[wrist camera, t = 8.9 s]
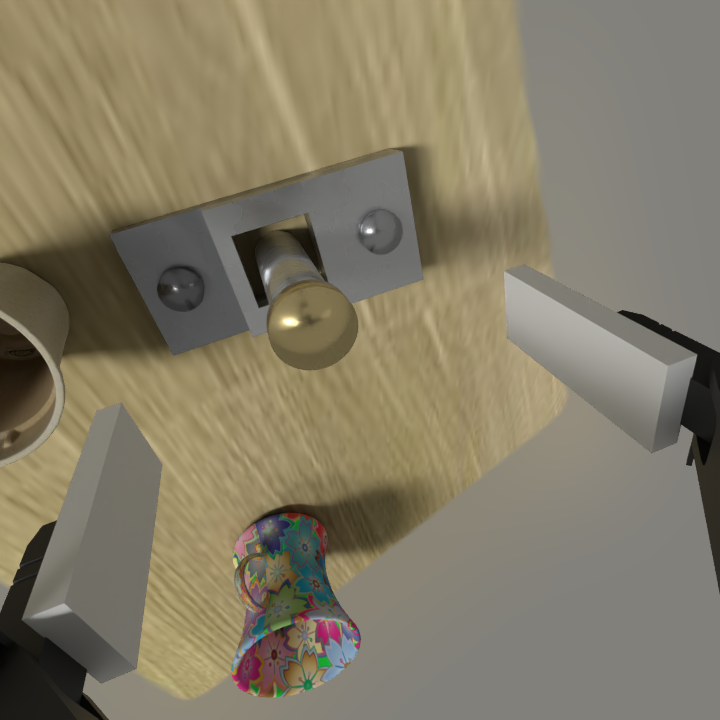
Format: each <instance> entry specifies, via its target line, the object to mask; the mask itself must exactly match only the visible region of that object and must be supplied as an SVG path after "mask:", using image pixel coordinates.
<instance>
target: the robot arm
mask: <svg viewBox="0 0 720 720" xmlns="http://www.w3.org/2000/svg"><path fill="white" fill-rule="evenodd" d="M504 281H505V302H506V323H507V338H508V339H509V340H510V341H511V342H513V343H514V344H515V345H516V346H518V347H519V348H520V349H521V350H523V351H524V352H525V353H526V354H528V355H529V356H530V357H531V358H533V359H534V360H535V361H536V362H538V363H539V364H540V365H541V366H543V367H544V368H545V369H546V370H548V371H549V372H550V373H551V374H553V375H554V376H555V377H556V378H558V379H559V380H560V381H561V382H563V383H564V384H565V385H566V386H568V387H569V388H570V389H571V390H573V391H574V392H575V393H576V394H578V395H579V396H580V397H581V398H583V399H584V400H585V401H586V402H588V403H589V404H590V405H592V406H593V407H594V408H595V409H597V410H598V411H599V412H600V413H601V414H603V415H604V416H605V417H607V418H608V419H609V420H610V421H612V422H613V423H614V424H615V425H617V426H618V427H619V428H620V429H622V430H623V431H624V432H625V433H627V434H628V435H629V436H630V437H632V438H633V439H634V440H636V441H637V442H638V443H639V444H641V445H642V446H643V447H644V448H645V449H647V450H648V451H649V452H650V453H653V452H656V451H658V450H661V449H663V448H665V447H668V446H670V445H673V444H675V443H677V440H678V436H679V432H680V427H681V425H683V426H684V427H686V428H687V429H689V430H690V431H692V432H693V433H694V434H693V438H692V442H691V446H690V450H689V454H688V458H687V463H686V465H689V466H692V462H693V459H695V465H696V470H697V475H698V481H699V486H700V491H701V497H702V502H703V507H704V512H705V518H706V523H707V528H708V533H709V539H710V544H711V550H712V555H713V560H714V566H715V571H716V575H717V581H718V587H719V592H720V353H719V352H717V351H715V350H713V349H711V348H709V347H707V346H705V345H703V344H701V343H699V342H697V341H695V340H693V339H690V338H688V337H687V336H684V335H683V334H680V333H678V332H676V331H672V329H670V328H668V327H666V326H664V325H662V324H661V325H659V323H658V322H656V321H654V320H652V319H650V318H648V317H646V316H644V315H642V314H637V313H633V312H628V311H624V310H622V311H619V312H614V311H613V310H611V309H609V308H607V307H605V306H603V305H601V304H599V303H598V302H596V301H594V300H592V299H590V298H588V297H586V296H584V295H582V294H580V293H578V292H576V291H574V290H573V289H571V288H569V287H567V286H565V285H563V284H561V283H559V282H557V281H555V280H553V279H552V278H550V277H548V276H546V275H544V274H542V273H540V272H538V271H536V270H534V269H532V268H530V267H529V266H527V265H525V264H523V265H520V266H517V267H514V268H511V269H508V270H505V271H504ZM161 470H162V463H161V461H160V460H159V458H158V457H157V455H156V454H155V452H154V451H153V449H152V448H151V446H150V445H149V443H148V442H147V440H146V439H145V437H144V436H143V434H142V433H141V431H140V430H139V428H138V427H137V425H136V424H135V422H134V421H133V419H132V418H131V416H130V415H129V413H128V412H127V410H126V409H125V407H124V406H123V404H122V403H119V404H116V405H113V406H110V407H107V408H104V409H101V410H98V411H96V413H95V416H94V419H93V422H92V425H91V427H90V430H89V433H88V436H87V439H86V441H85V444H84V447H83V450H82V453H81V455H80V458H79V461H78V464H77V467H76V469H75V472H74V475H73V478H72V480H71V483H70V486H69V489H68V492H67V494H66V497H65V500H64V503H63V506H62V508H61V511H60V514H59V517H58V520H57V521H54V522H51V523H49V524H46V525H43V526H42V527H41V529H40V530H39V531H38V532H37V534H36V535H35V536H34V538H33V539H32V540H31V542H30V543H29V544H28V546H27V548H26V550H25V553H24V555H23V558H22V560H21V563H20V565H19V566H20V569H18V570H17V573H16V575H15V577H14V580H13V583H14V584H13V585H12V586H11V587H10V590H9V592H8V595H7V597H6V600H5V602H4V605H3V607H2V610H1V612H0V720H109V719H108V718H107V717H106V716H105V715H104V714H103V712H102V711H101V710H100V709H99V708H98V707H97V705H96V704H95V703H94V702H93V701H92V700H91V699H90V697H88V696H87V695H85V694H84V693H83V692H82V691H83V687H84V682H85V677H86V673H89V674H90V675H91V676H92V677H94V678H95V679H96V680H97V681H99V682H100V683H104V682H106V681H108V680H111V679H113V678H116V677H118V676H120V675H123V674H125V673H128V672H130V671H132V670H135V669H137V662H138V654H139V646H140V638H141V630H142V622H143V614H144V606H145V598H146V590H147V582H148V574H149V566H150V558H151V550H152V542H153V534H154V526H155V518H156V510H157V502H158V494H159V486H160V478H161Z"/></svg>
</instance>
